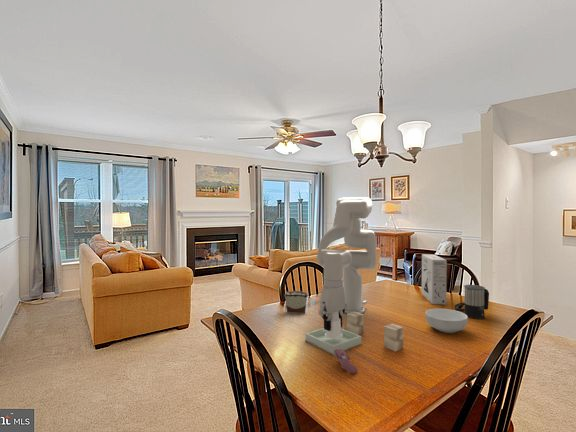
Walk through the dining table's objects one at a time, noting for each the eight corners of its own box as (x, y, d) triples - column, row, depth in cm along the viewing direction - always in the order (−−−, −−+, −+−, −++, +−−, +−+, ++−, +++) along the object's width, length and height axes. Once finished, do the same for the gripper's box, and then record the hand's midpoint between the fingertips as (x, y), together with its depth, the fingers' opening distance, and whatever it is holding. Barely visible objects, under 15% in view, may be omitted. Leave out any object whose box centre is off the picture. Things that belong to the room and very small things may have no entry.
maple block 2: (391, 343, 126) (391, 323, 126) (403, 348, 122) (403, 327, 122) (384, 346, 123) (384, 326, 123) (395, 351, 119) (395, 330, 119)
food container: (308, 309, 169) (308, 290, 168) (308, 313, 163) (308, 294, 162) (285, 309, 170) (285, 290, 170) (284, 312, 164) (284, 293, 164)
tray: (332, 331, 138) (332, 324, 138) (361, 343, 126) (361, 336, 126) (305, 340, 129) (305, 333, 129) (333, 354, 116) (333, 346, 116)
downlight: (345, 333, 130) (344, 308, 129) (342, 339, 123) (341, 314, 123) (325, 331, 132) (324, 307, 132) (322, 338, 125) (320, 312, 125)
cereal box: (421, 294, 200) (421, 254, 199) (434, 294, 199) (434, 254, 198) (432, 304, 178) (432, 259, 178) (446, 304, 177) (446, 259, 177)
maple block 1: (354, 329, 141) (354, 311, 141) (363, 332, 137) (363, 314, 137) (346, 332, 138) (346, 313, 138) (355, 335, 134) (355, 316, 134)
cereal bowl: (434, 320, 153) (434, 305, 152) (472, 329, 141) (473, 313, 141) (419, 329, 141) (419, 313, 140) (460, 340, 129) (460, 323, 129)
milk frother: (480, 321, 152) (481, 289, 151) (446, 312, 164) (447, 284, 163) (491, 314, 161) (491, 285, 161) (458, 307, 173) (458, 280, 173)
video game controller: (338, 364, 112) (330, 347, 112) (350, 358, 113) (341, 341, 112) (346, 379, 102) (337, 361, 102) (359, 372, 103) (349, 354, 102)
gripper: (341, 278, 135) (341, 320, 136) (310, 284, 125) (310, 330, 125) (354, 281, 129) (354, 325, 130) (324, 288, 119) (324, 336, 119)
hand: (333, 327), depth 127 cm, fingers closed on downlight, 5 cm apart
